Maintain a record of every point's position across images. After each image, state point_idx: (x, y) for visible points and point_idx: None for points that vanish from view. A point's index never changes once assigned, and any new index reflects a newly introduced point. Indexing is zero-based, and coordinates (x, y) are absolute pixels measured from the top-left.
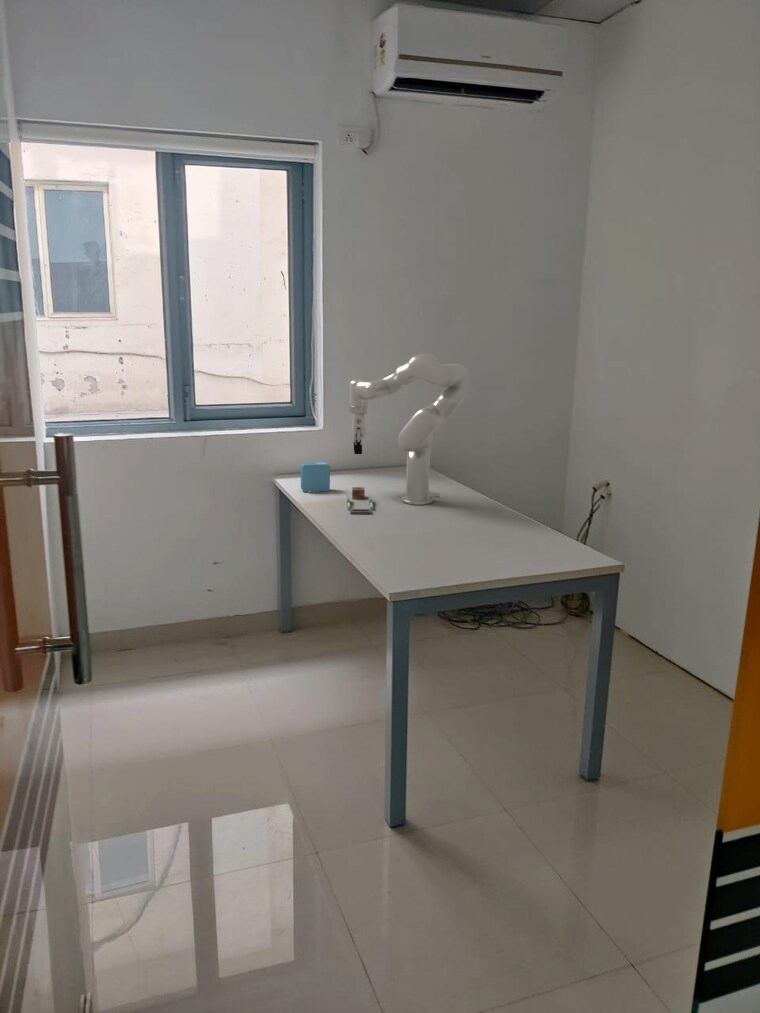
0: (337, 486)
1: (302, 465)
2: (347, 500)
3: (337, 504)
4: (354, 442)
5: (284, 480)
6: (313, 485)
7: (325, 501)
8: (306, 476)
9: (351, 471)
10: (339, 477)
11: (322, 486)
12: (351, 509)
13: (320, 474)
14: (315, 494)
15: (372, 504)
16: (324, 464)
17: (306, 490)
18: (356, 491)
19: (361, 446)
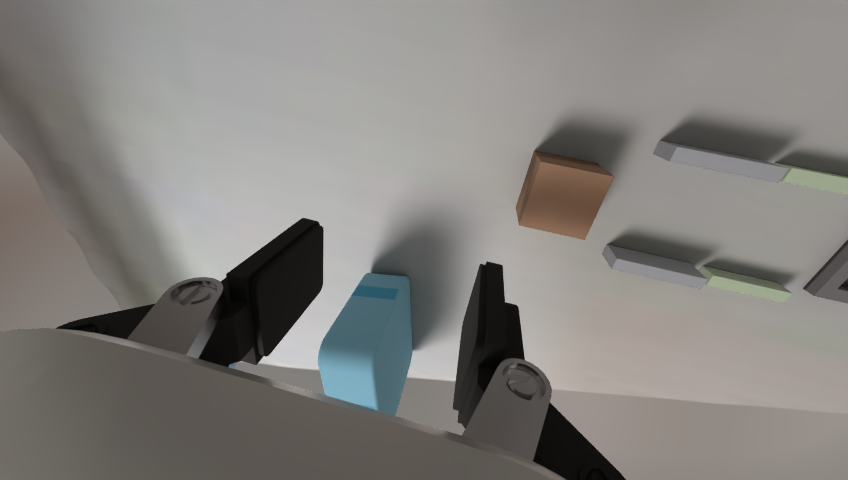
0: (328, 222)
1: None
2: (699, 284)
3: (641, 300)
4: (265, 354)
5: None
6: (406, 341)
7: (570, 325)
8: (397, 393)
9: (35, 88)
10: (167, 173)
11: (406, 309)
12: (828, 293)
13: (392, 354)
14: (450, 326)
15: (838, 177)
16: (374, 381)
17: (411, 348)
18: (592, 217)
19: (505, 333)
